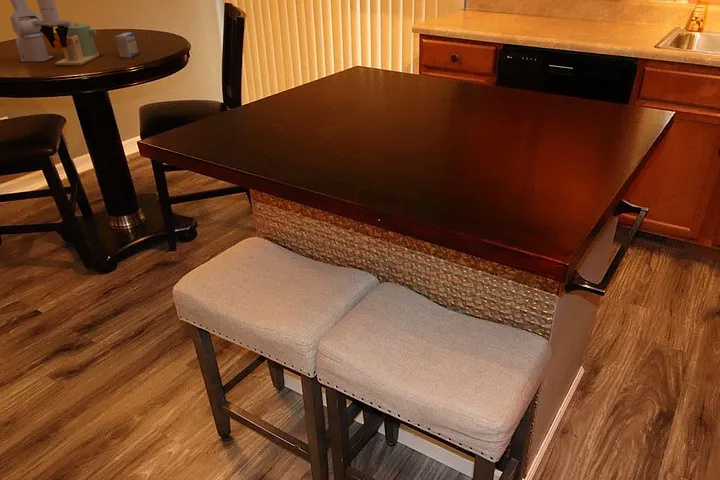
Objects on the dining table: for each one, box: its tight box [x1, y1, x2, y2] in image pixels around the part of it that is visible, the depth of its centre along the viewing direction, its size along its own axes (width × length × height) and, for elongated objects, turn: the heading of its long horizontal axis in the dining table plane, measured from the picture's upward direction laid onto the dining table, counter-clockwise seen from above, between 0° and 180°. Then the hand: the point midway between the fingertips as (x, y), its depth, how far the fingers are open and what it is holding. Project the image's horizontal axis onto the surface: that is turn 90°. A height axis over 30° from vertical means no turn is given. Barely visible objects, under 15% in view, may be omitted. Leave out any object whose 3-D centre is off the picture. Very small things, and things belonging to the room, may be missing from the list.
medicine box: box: [115, 31, 139, 58], centre depth 234 cm, size 8×4×9 cm, turn 179°
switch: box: [53, 38, 72, 49], centre depth 220 cm, size 11×3×3 cm, turn 179°
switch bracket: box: [54, 35, 96, 66], centre depth 225 cm, size 12×10×10 cm
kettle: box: [67, 21, 100, 58], centre depth 232 cm, size 12×11×13 cm
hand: (59, 47), depth 217 cm, fingers closed on switch, 3 cm apart
